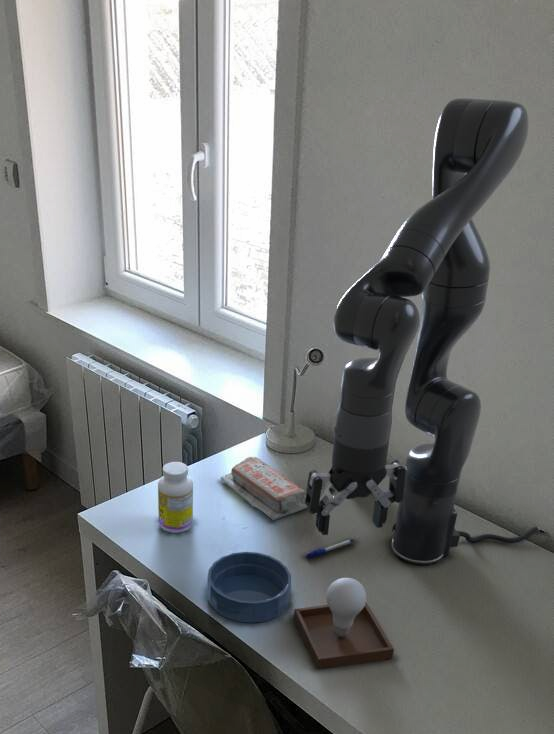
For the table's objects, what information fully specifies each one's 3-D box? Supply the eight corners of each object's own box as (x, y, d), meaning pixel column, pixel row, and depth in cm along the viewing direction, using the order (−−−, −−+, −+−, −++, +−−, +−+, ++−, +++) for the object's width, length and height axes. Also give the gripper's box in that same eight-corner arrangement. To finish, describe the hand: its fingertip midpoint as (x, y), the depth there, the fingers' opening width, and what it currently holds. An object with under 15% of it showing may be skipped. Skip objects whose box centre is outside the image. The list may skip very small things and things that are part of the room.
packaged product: (315, 486, 166) (274, 502, 162) (313, 507, 169) (273, 522, 165) (259, 448, 179) (220, 461, 175) (258, 468, 182) (220, 481, 178)
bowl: (275, 567, 153) (277, 547, 151) (300, 618, 142) (302, 597, 139) (199, 577, 151) (200, 556, 149) (218, 628, 140) (218, 607, 137)
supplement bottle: (160, 514, 168) (159, 458, 161) (193, 515, 168) (194, 459, 160) (157, 533, 163) (156, 476, 155) (191, 535, 162) (192, 477, 155)
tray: (363, 609, 143) (364, 599, 142) (392, 658, 133) (394, 649, 132) (293, 618, 142) (294, 608, 141) (317, 669, 132) (318, 659, 131)
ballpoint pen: (308, 559, 155) (308, 555, 154) (305, 557, 155) (305, 552, 155) (353, 542, 159) (354, 538, 158) (350, 540, 159) (351, 536, 159)
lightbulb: (360, 650, 134) (368, 596, 128) (320, 645, 135) (327, 592, 129) (360, 625, 139) (368, 571, 133) (322, 620, 140) (328, 567, 134)
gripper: (322, 453, 115) (313, 549, 124) (422, 440, 116) (405, 536, 126) (304, 427, 121) (296, 520, 130) (399, 415, 122) (385, 508, 132)
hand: (350, 528), depth 128 cm, fingers open, 8 cm apart
